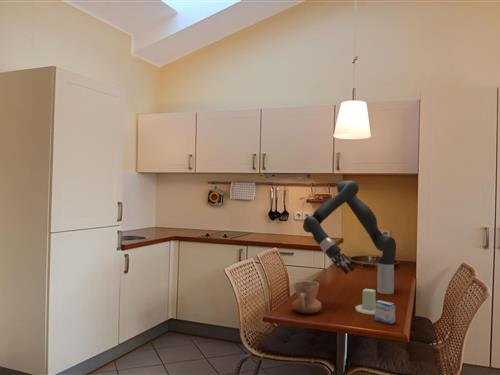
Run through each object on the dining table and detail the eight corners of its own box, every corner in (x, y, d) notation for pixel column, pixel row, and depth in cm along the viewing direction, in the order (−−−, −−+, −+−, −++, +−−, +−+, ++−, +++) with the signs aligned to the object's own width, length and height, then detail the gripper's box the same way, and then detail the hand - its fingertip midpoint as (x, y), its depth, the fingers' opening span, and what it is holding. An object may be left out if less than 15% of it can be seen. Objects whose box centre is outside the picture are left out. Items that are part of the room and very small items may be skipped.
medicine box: (374, 320, 192) (374, 301, 192) (379, 318, 195) (379, 299, 195) (390, 324, 187) (390, 305, 187) (395, 322, 190) (395, 303, 190)
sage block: (365, 306, 211) (365, 288, 211) (375, 307, 208) (375, 289, 208) (362, 308, 206) (362, 290, 206) (372, 310, 204) (372, 291, 204)
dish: (360, 305, 216) (360, 303, 216) (385, 309, 209) (385, 307, 209) (352, 311, 205) (352, 309, 205) (378, 316, 198) (378, 313, 198)
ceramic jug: (298, 305, 215) (298, 278, 215) (325, 308, 209) (325, 280, 209) (286, 315, 199) (286, 286, 199) (315, 319, 193) (315, 289, 193)
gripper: (329, 244, 211) (351, 269, 205) (339, 241, 223) (360, 265, 217) (319, 253, 214) (340, 278, 208) (330, 250, 226) (350, 274, 220)
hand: (350, 271), depth 212 cm, fingers open, 8 cm apart
